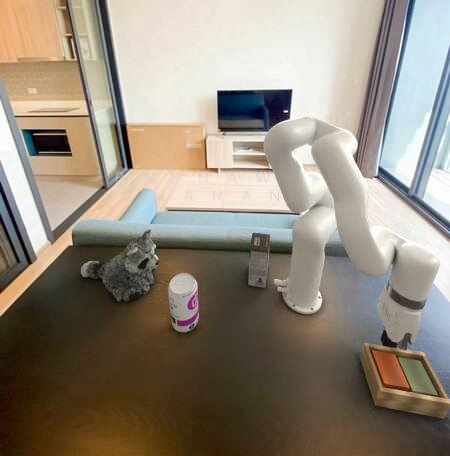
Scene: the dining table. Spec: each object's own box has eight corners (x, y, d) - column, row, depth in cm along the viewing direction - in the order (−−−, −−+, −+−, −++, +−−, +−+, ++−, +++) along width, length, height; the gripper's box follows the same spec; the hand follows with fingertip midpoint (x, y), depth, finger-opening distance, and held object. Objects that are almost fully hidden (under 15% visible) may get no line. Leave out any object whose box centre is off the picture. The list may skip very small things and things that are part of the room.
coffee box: (250, 265, 94) (252, 231, 88) (267, 268, 93) (270, 233, 87) (247, 285, 85) (249, 249, 80) (266, 288, 84) (269, 251, 78)
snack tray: (375, 405, 56) (380, 391, 54) (359, 356, 65) (364, 342, 63) (443, 418, 54) (452, 404, 52) (417, 366, 63) (423, 352, 61)
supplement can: (203, 313, 76) (202, 277, 70) (189, 338, 69) (186, 300, 63) (181, 303, 79) (178, 267, 74) (165, 326, 72) (161, 289, 67)
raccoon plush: (158, 305, 78) (152, 253, 71) (62, 302, 79) (45, 251, 71) (169, 267, 93) (165, 221, 85) (87, 266, 93) (76, 219, 86)
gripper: (376, 266, 65) (363, 315, 72) (402, 319, 51) (383, 374, 58) (408, 270, 64) (391, 320, 70) (443, 327, 50) (419, 382, 56)
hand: (388, 344), depth 64 cm, fingers closed
